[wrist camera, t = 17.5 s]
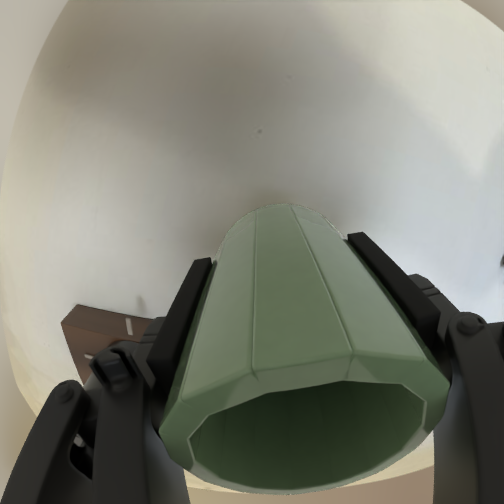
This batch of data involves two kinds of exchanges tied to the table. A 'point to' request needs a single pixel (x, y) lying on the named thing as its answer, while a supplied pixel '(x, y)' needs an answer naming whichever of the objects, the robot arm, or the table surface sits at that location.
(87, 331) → the wood base dial
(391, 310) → the cup
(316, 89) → the table surface
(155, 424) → the robot arm
